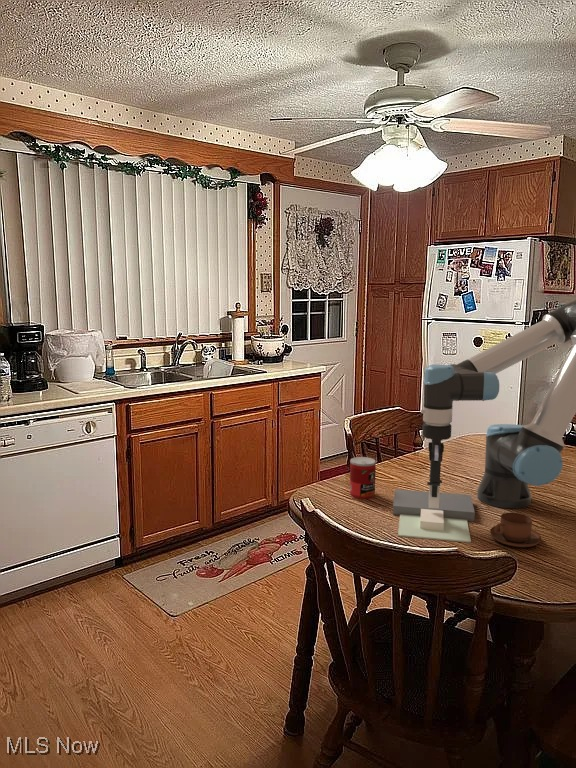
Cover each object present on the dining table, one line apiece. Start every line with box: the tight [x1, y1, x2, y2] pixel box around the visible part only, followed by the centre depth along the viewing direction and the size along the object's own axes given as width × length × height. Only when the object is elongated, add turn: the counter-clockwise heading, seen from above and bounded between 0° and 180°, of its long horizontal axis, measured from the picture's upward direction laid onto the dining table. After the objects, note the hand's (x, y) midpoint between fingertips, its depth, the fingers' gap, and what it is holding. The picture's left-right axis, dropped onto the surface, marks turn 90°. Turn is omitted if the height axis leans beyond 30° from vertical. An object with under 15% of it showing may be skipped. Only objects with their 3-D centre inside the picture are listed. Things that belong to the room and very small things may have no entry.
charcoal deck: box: [392, 488, 476, 522], centre depth 167 cm, size 22×14×2 cm, turn 77°
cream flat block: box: [420, 509, 444, 530], centre depth 156 cm, size 9×6×2 cm, turn 166°
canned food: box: [349, 456, 377, 500], centre depth 178 cm, size 8×8×11 cm
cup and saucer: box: [489, 512, 542, 548], centre depth 146 cm, size 12×12×6 cm
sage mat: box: [397, 514, 472, 543], centre depth 154 cm, size 18×14×1 cm
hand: (433, 506), depth 158 cm, fingers closed
